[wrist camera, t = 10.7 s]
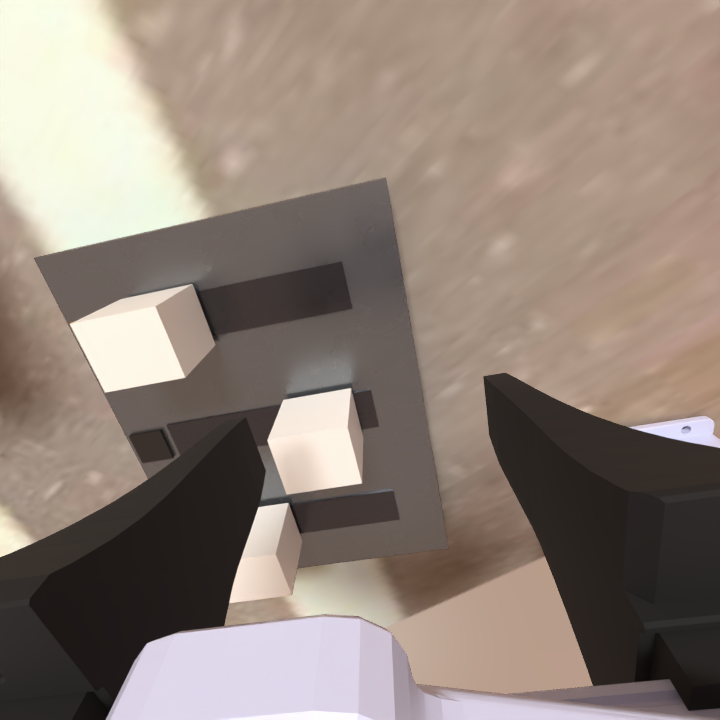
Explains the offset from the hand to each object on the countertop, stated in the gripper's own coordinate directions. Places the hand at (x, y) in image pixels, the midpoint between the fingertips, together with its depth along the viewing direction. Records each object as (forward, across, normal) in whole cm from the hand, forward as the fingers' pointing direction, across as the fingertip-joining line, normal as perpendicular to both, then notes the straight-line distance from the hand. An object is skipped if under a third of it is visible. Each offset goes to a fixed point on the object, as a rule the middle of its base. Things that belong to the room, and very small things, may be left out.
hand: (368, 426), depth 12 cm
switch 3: (+8, +3, +4) cm, 9 cm away
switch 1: (+8, +9, -2) cm, 12 cm away
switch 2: (+8, +8, +10) cm, 15 cm away
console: (+10, +6, +4) cm, 12 cm away
